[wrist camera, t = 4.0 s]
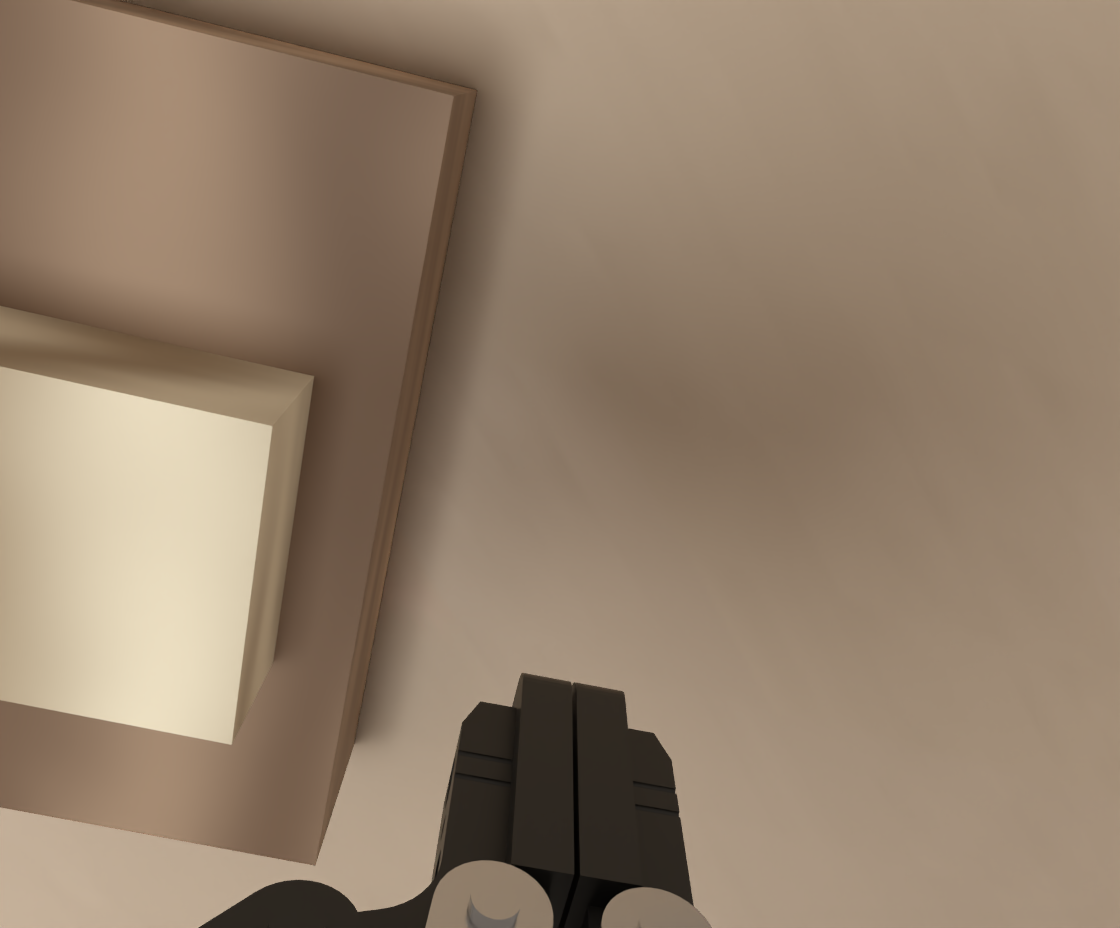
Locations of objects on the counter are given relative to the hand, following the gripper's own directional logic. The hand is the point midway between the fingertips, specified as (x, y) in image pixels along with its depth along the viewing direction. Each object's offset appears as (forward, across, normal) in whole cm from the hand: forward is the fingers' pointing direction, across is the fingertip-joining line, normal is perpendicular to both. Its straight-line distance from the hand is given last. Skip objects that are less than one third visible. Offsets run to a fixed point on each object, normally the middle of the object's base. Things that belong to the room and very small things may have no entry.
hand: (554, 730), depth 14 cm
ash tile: (+5, +9, 0) cm, 10 cm away
